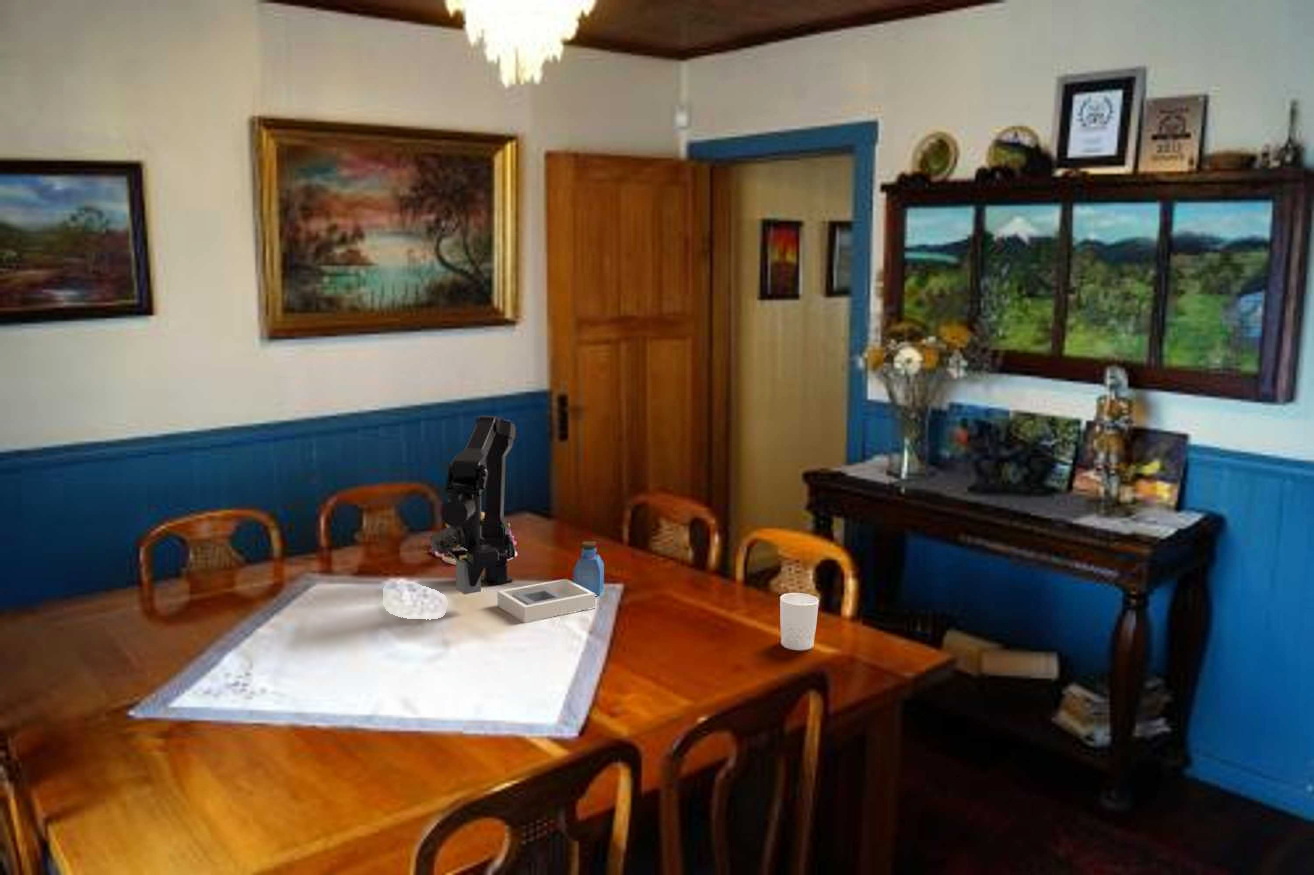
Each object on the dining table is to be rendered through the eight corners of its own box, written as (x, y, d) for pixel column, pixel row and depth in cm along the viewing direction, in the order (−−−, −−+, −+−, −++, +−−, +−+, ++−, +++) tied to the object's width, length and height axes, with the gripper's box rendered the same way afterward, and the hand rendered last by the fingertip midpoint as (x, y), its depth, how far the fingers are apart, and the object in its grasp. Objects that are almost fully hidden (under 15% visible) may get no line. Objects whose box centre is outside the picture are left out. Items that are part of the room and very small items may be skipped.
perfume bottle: (603, 588, 253) (604, 540, 251) (599, 596, 247) (600, 547, 245) (578, 587, 254) (578, 539, 252) (573, 595, 247) (574, 545, 245)
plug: (456, 589, 234) (456, 555, 233) (472, 586, 236) (472, 553, 235) (464, 594, 231) (463, 560, 230) (480, 591, 233) (480, 557, 232)
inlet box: (497, 605, 239) (497, 591, 238) (566, 592, 249) (566, 578, 248) (524, 622, 228) (524, 607, 228) (595, 608, 239) (595, 593, 238)
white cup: (819, 641, 222) (821, 595, 220) (812, 654, 214) (814, 607, 213) (782, 635, 224) (784, 590, 223) (774, 648, 217) (776, 602, 215)
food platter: (413, 549, 283) (413, 516, 281) (487, 535, 299) (487, 503, 297) (465, 571, 265) (464, 535, 263) (540, 554, 281) (540, 521, 279)
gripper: (416, 510, 234) (417, 578, 236) (451, 529, 219) (452, 601, 221) (462, 504, 240) (463, 570, 243) (500, 522, 225) (500, 592, 228)
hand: (468, 583), depth 233 cm, fingers closed on plug, 4 cm apart
